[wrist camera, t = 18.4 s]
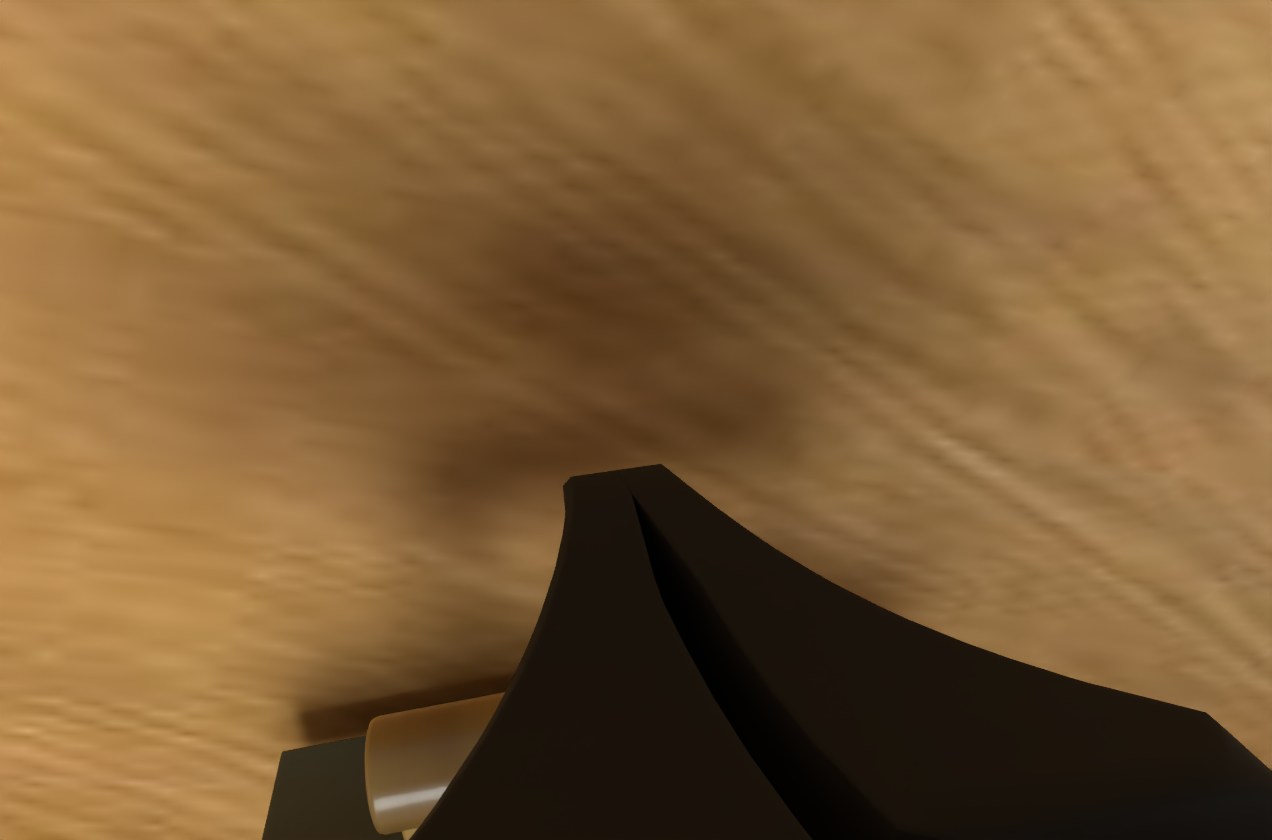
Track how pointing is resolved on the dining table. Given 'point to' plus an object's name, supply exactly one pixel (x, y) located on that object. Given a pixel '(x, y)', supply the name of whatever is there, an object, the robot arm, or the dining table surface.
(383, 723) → the drawer
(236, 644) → the dining table surface
